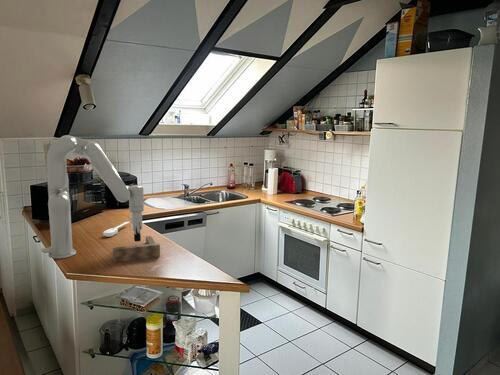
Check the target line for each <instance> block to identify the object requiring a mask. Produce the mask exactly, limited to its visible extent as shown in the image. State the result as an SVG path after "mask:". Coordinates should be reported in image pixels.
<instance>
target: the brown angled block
mask: <svg viewBox="0 0 500 375" xmlns="http://www.w3.org/2000/svg"><path fill="white" fill-rule="evenodd" d="M112 256H113V257H112V258H113V259H112V260H113V263H119V262H121V263H122V262H128V261H135V260H146V259H154V258H160V257H161V246H160V243H159V242H156V241H155V240H154V238H153V236H151V235H146V236H145V244H137V245H135V244H134V245H127V246H117V247H112Z"/></svg>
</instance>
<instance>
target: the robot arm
mask: <svg viewBox="0 0 500 375" xmlns="http://www.w3.org/2000/svg"><path fill="white" fill-rule="evenodd" d="M70 154H74V155H79V156H82V157H85V158H86V160H87V161H88V162H89V164H90V165H91V166H92V168H93V169H94V171H95V173H96V174H97V175H98V176H99V178H100V179H101V180H102V181H103V182H104V184H105V185H106V186H107V187H108V188H109V190H110V191H111V193H112V195H113V196H114V198H115V199H116V201H117V202H120V203H127V202H128V206H129V207H128V209H129V213H130V228H131V230H132V231H133V240H134V242H136V243H137V242H141V240H142V239H141V236H142V235H141V230H142V229H143V212H144V211H145V205H144V204H145V203H144V202H145V200H144V187H143V185H139V184H132V185H126V184H125V182H124V181H123V179H122V178H121V176H120V175H119V173H118V172H117V170H116V168H115V167H114V165H113V163H112V162H111V161H110V159H109V157H108V156H107V154H105V152H104V150H103V149H102V147H101V146H100V144H99V143H97V142H95V141H92V140H87V139H83V138H81V137H78V136H77V137H76V136H72V135H69V134H66V135H62V136H60V138H58V139H57V140H55V141H54V142H53V143H52V144H51V145H50V146H49V148H48V150H47V155H46V167H47V168H46V170H47V177H46V181H47V193H48V194H47V195H48V202H47V206H48V216H49V219H48V220H49V231H50V244H51V245H50V246H49V247H44V248H42V247H41V253H43V254H48V257H49V258H51V259H55V260H57V259H58V260H59V259H65V258H70V257H72V256H75V255H76V253H77V250H76V249H75V248H73V234H72V230H73V229H72V215H71V213H72V212H71V199H70V192H69V191H70V188H69V187H70V186H69V175H68V168H67V167H68V166H67V165H68V163H67V162H68V161H67V160H68V159H67V158H68V156H69V155H70Z"/></svg>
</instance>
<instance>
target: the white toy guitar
mask: <svg viewBox="0 0 500 375" xmlns="http://www.w3.org/2000/svg"><path fill="white" fill-rule="evenodd" d="M129 223H130V224H131V221H124V222H123V223H121V224H119V225H118V226H115V227H112V228H108V229H106V230H104V231H103V232H102V235H103V237H105V238H106V237H107V238H109V237H110V238H111V237H113V236H115V235H117V234H118V231H119V230H118V229H119V228H121V227H123V226H125V225H127V224H129Z"/></svg>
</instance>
